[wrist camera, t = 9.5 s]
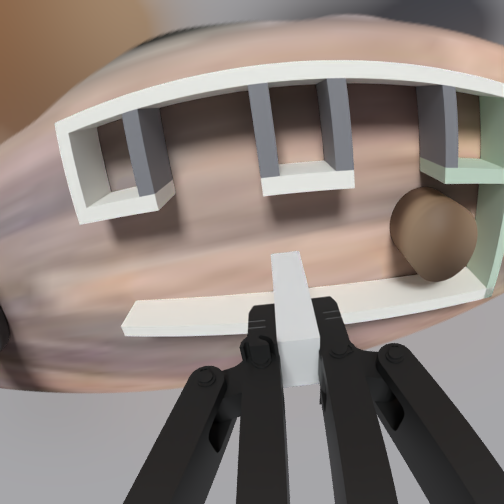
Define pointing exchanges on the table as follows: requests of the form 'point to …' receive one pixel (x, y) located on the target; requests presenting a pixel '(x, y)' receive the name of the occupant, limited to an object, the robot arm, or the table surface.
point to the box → (298, 179)
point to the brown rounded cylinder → (433, 233)
